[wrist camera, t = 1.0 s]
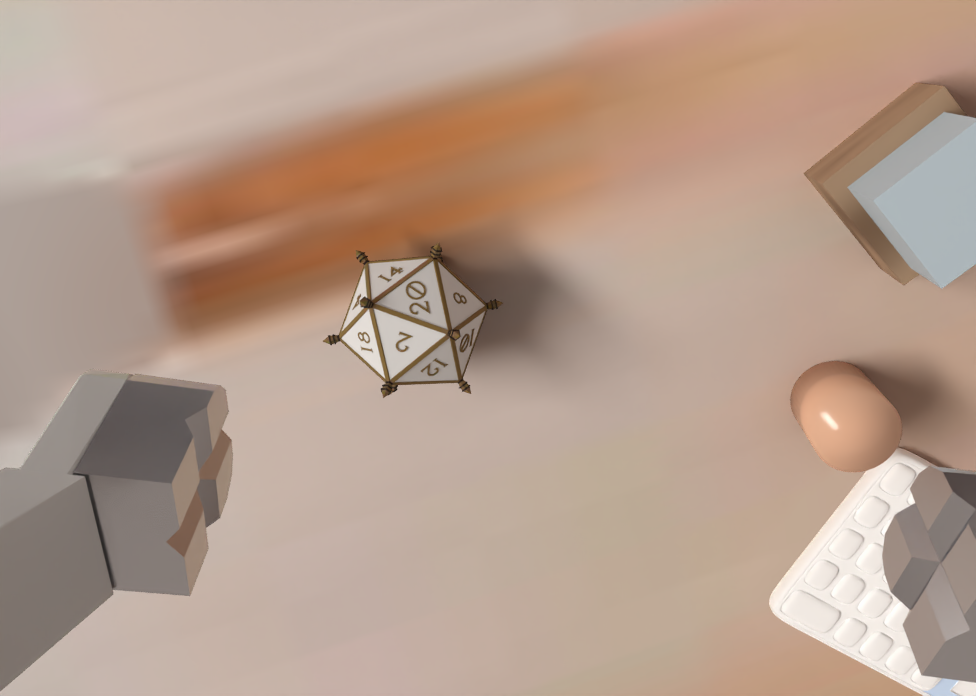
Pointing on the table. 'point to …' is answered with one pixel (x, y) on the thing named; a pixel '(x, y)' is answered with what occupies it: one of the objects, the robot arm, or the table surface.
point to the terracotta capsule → (845, 417)
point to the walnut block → (867, 152)
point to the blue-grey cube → (928, 198)
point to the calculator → (860, 581)
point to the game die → (413, 321)
